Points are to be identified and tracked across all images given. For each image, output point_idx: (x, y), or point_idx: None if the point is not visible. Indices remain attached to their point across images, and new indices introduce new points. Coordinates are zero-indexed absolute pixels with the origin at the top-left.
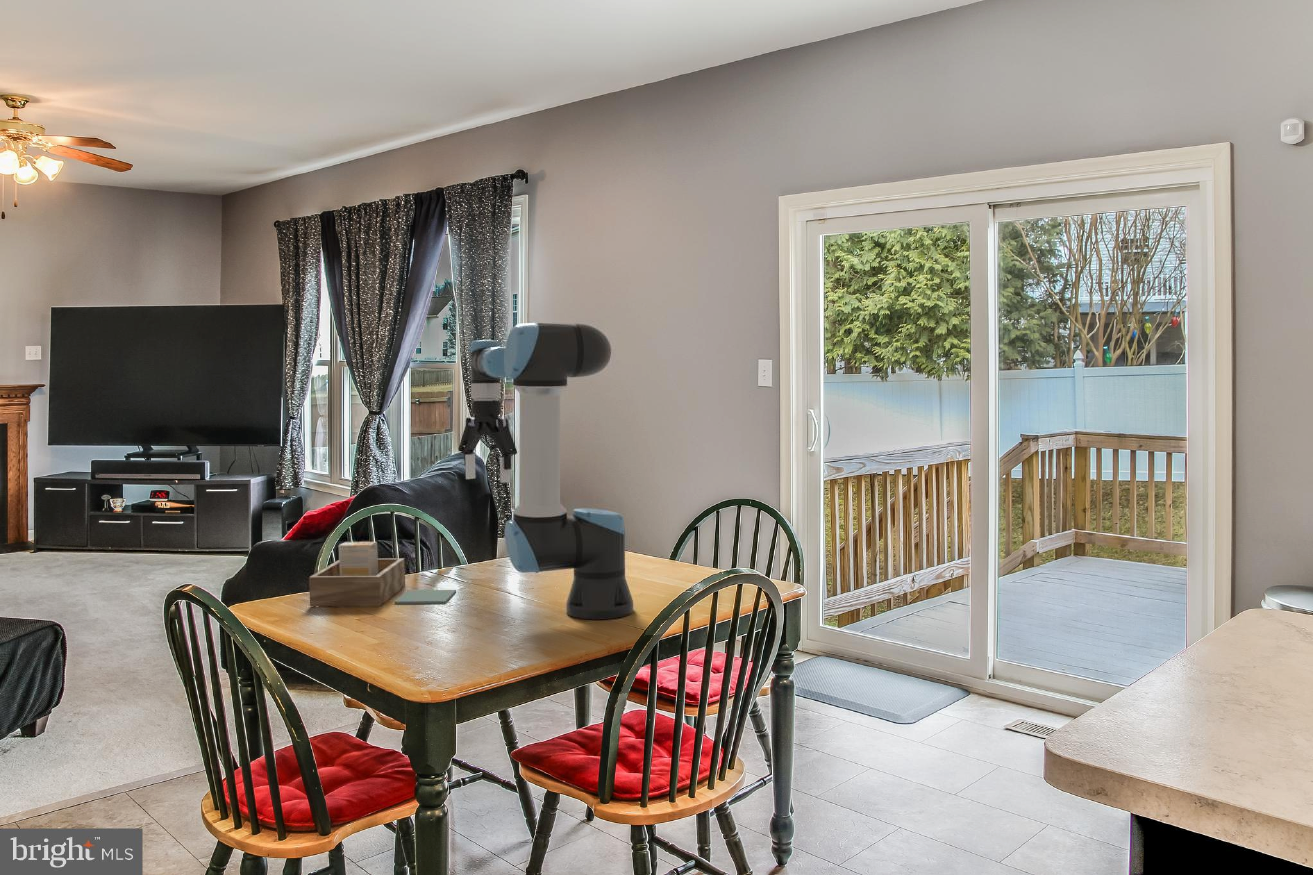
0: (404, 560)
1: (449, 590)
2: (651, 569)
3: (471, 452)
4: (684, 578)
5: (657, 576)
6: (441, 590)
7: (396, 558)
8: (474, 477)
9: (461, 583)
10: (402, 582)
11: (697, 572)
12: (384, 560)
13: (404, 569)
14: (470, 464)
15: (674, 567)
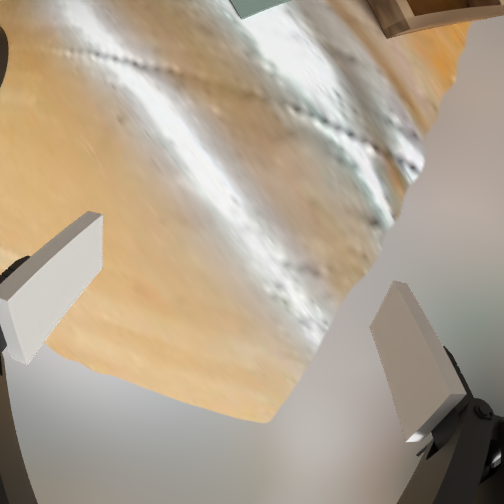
0: (408, 29)
1: (250, 7)
2: (68, 321)
3: (433, 442)
4: None
5: None
6: (266, 1)
7: (425, 24)
8: (373, 324)
9: (286, 89)
10: (381, 18)
11: None
12: (439, 12)
13: (398, 30)
14: (410, 359)
15: (58, 338)
